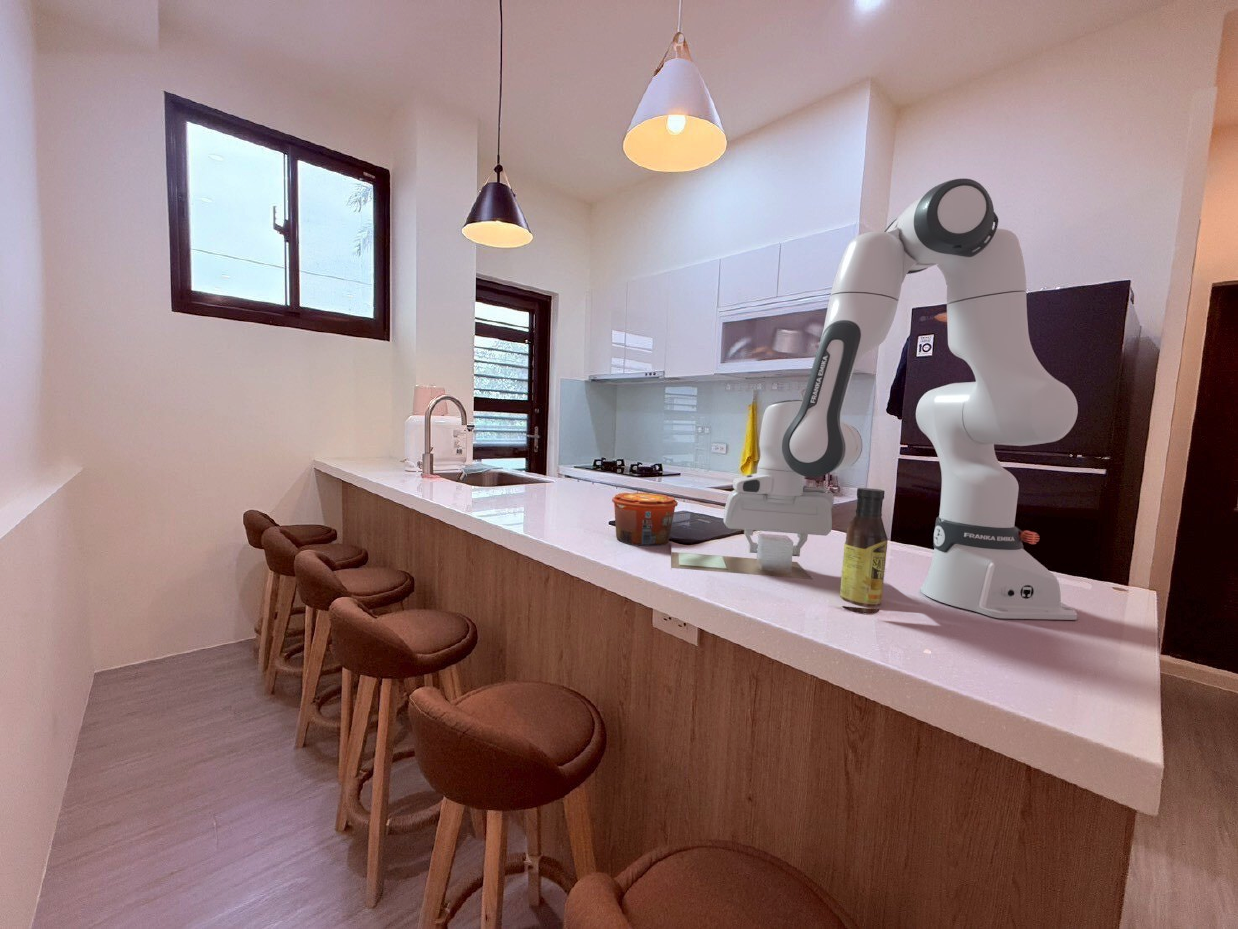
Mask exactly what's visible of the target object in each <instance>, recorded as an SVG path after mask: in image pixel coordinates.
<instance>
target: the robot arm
mask: <svg viewBox="0 0 1238 929" xmlns="http://www.w3.org/2000/svg"><path fill="white" fill-rule="evenodd" d="M993 226H994V227H993ZM998 226H999V217H998V215H997V213H996V212H995V208H994V204H993V200H992V198H991V196H990V194H989V192H988V191H987V189H986V188H985V187H984V186H983V185H982V184H981V183H979V181H976V180H973V179H971V178H955V179H951V180H947V181H944V182H942V183H940V184H938V185H935V186H934V187H932V188H931V189H929V190H928V191H927V192H926V193H925V194H923V195H921V196H920V197H919V198H917V199H916V200H914V201H913V202H911V203H910V205H908V206H907V207H906V208H905V209H904V210H903V212H902V213H900V215H899V216H898V217H897V218H896V219H894V220H893V221H892V222H891V223H890V224H889V225H888V226H887V227H886V229H885V230H884V231H880V230H877V231H876V230H874V231H869V232H864V233H861V234H858V235H857V236H855V237H854V238H852V240H850V242H849V243H848V244H847V246H846V248H845V250H844V252H843V255H842V257H841V260H840V262H839V265H838V267H837V270H836V274H835V276H834V279H833V284H832V287H831V291H830V295H829V300H828V305H827V309H826V314H825V319H824V325H823V329H822V334H821V336H820V342H819V345H818V348H817V351H816V355H815V357H814V360H813V363H812V364H813V365H812V366H811V367H812V368H811V371H810V374H809V376H808V377H809V378H808V382H807V385H806V388H805V392H804V394H803V395H804V396H803V400H802V399H788V400H787V399H785V400H781V401H780V400H779V401H776V402H773V403H771V404H770V405H768V406H767V407H766V408H765V410H764V413H763V416H762V421H761V424H760V425H761V426H760V432H759V433H760V434H759V440H758V441H759V442H758V443H759V445H758V446H759V450H760V452H759V453H760V455H759V456H760V457H759V461H758V463H757V465H756V466H757V469H756V473H752V474H748V475H743V476H739V477H738V476H737V477H736V478H734V479H732V480H733V481H732V488H733V490H731V491H730V493H728V496H727V497H726V502H725V507H724V511H723V512H724V513H723V524H724V525H725V526H726V528H727V529H730V530H731V529H733V530H743V533H744V536H745V538H746V540H747V542H748V553H750V554H757V551H758V550H757V548H758V542H753V539H752V537H753V535H754V531H758V532H773V533H783V534H784V533H786V534H797V536H796V537H797V538H798V540H797V542H796V543H795V544H794V545H793V553H792V557H800V556H801V549H802V547H803V546H804V545H805V544H806V542H807V541H808V535H812V536H825V537H826V536H828V535H829V534H830V533H831V532H832V529H833V528H832V526H833V525H832V524H833V522H832V508H833V507H834V502H835V501H834V500H835V496H834V493H833V492H832V491H831V490H830V489H827V487H825V486H818V487H817V486H811V485H804V483H805V478H820V477H824V476H825V475H828V474H830V473H836V472H841V471H843V470H846V469H848V468H850V467H852V466H853V465H854V464H855V463H856V462H857V461H858V460H859V459H860V457H861V454H862V452H863V439H862V436H861V435H860V433H859V431H858V430H857V428H855V427H854V426H852V425H851V424H850V423H848V422H845V421H843V420H842V419H841V418H842V413H843V408H844V405H845V402H846V398H847V395H848V392H849V389H850V388H849V387H850V384H851V380H852V376H853V374H854V371H855V368H856V367H857V365H858V363H859V362H860V361H861V360H862V358H864V356H866V355H867V354H868V353H869V352H871V351H872V350H874V349H876V348H877V347H879V346H880V345H881V344H882V343H884V341H885V340H886V338H887V336H888V334H889V331H891V327H892V324H894V323H893V322H894V319H895V315H896V313H897V310H898V304H899V300H900V296H901V291H902V285H903V283H904V280H906V279H905V278H906V276H907V275H911V274H916V273H920V272H922V271H925V270H927V269H929V268H931V267H934V266H937V268H938V269H939V270H940V272H941V273H942V275H943V277H944V280H945V284H946V320H947V321H946V322H947V323H946V325H947V346H948V348H949V351H950V352H951V353H952V354H953V355H954V356H955V357H957V358H960V359H961V360H963V361H965V362H966V363H967V365H968V366H969V367H970V369H971V370H972V373H973V376H974V379H975V381H970V382H969V381H968V382H966V381H965V382H953V383H949V384H946V385H942V386H940V387H936V388H933V389H930V390H927V392H925V393H924V394H923V395H922V396H921V397H920V399H919V400H918V403H917V406H916V410H915V420H916V423H917V427H918V428H919V430H920V431H921V432H922V433H923V434H924V435H925V436H926V437H927V438H928V439H929V440H930V442H931V443H932V446H933V447H934V450H935V452H936V454H937V458H938V462H939V466H940V467H939V468H940V472H941V487H940V488H941V490H940V505H939V512H938V513H939V515H938V516H937V517H936V519H935V526H934V532H933V548H934V549H933V554H932V559H931V562H930V565H929V569H928V572H927V574H926V577H925V580H924V582H923V585H922V586H921V589H920V592H921V593H922V594H924V595H925V596H927V597H929V598H931V599H933V600H935V601H936V602H940V603H943V604H946V605H950V606H952V607H956V608H960V609H963V610H968V611H973V612H976V613H979V614H982V615H985V616H988V617H992V618H996V619H1009V620H1011V619H1013V620H1014V619H1015V620H1018V619H1019V620H1020V619H1021V620H1024V619H1025V620H1060V621H1061V620H1067V621H1069V620H1070V621H1071V620H1072V621H1073V620H1075V621H1076V620H1078V613H1077V612H1076V609H1073V608H1072V607H1071V606H1068V605H1067V604H1065V603H1063V602H1061V600H1062V598H1061V597H1062V595H1061V586H1060V582H1059V580H1058V579H1057V576H1056V575H1055V574H1054V573H1053V572H1051V571H1050V570H1048V568H1047V567H1045V565H1043V564H1041V562H1039V561H1038V560H1037V559H1036V558H1034V556H1032V555H1031V554H1030V553H1029V552H1027V551H1026V550H1025V549H1024V545H1023V542H1025V543H1027V544H1030V545H1036V544H1037V543H1038V542H1039V541H1040V535H1039V534H1038V533H1037V532H1035V531H1030V530H1022V529H1020V528H1019V527H1018V526H1015V522H1016V514H1017V505H1018V498H1019V488H1020V487H1019V483H1018V480H1017V478H1016V477H1015V476H1014V475H1013V474H1012V473H1011V472H1010V471H1008V470H1007V469H1005V468H1004V467H1003V466H1002V464H1001V463H1000V462H999V460H998V458H997V455H996V451H995V445H1000V446H1001V445H1003V446H1016V447H1017V446H1018V447H1025V446H1026V447H1027V446H1033V445H1040V444H1047V443H1048V444H1049V443H1054V442H1057V441H1059V440H1061V439H1063V438H1064V437H1065V436H1066V435H1067V434H1069V432H1070V431H1071V430H1072V428H1073V427H1074V425H1075V423H1076V420H1077V417H1078V414H1079V412H1078V409H1079V406H1078V401H1077V398H1076V396H1075V395H1074V393H1073V391H1072V390H1071V389H1070V387H1069V386H1068V385H1066V384H1065V383H1063V382H1061V381H1060V380H1058V379H1057V378H1055V377H1054V376H1052V374H1050V373H1049V372H1048V371H1047V370H1046V369H1045V367H1044V366H1043V365H1042V364H1041V362H1040V361H1039V359H1038V357H1037V356H1036V354H1035V352H1034V349H1033V346H1032V343H1031V340H1030V334H1029V325H1028V323H1029V322H1028V308H1027V280H1026V279H1027V278H1026V277H1027V276H1026V268H1025V262H1024V257H1023V252H1022V248H1021V245H1020V239H1019V238H1018V236H1017V235H1016V234H1015V233H1013V231H1011V230H1008V229H1004V228H998Z"/></svg>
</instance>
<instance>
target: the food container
mask: <svg viewBox="0 0 1238 929" xmlns="http://www.w3.org/2000/svg"><path fill="white" fill-rule="evenodd" d="M611 501H612V502H613V506H614V522H615V523H614V524H615V537H616V539H617V540H618V541H620V542H621V543H624V544H629V545H632V546H638V547H639V546H641V547H654V546H655V547H657V546H662V545H663V546H664V545H666V544H667V543H669V540H670V534H671V531H672V524H673V519H674V515H675V510H676V507H677V506H678V505H679V504H678V501H676V499H675V498H674V496H672V497H671V496H670V497H669V496H668V495H667V494H666V495H665V494H658V493H655V494H653V493H650V492H649V493H648V492H634V493H633V492H632V493H629V492H621V493H618V494H615V495H614V497H612V499H611ZM612 502H611V503H612Z"/></svg>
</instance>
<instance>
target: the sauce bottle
mask: <svg viewBox="0 0 1238 929" xmlns="http://www.w3.org/2000/svg"><path fill="white" fill-rule="evenodd" d="M856 498H857V501H856V509H855V516H854V518H853V519H852V520H851V521H850V522H849V523H848V525H847V529H846V531H845V532H846V533H845V534H846V536H845V542H844V548H843V556H842V567H841V579H840V589H839V590H840V591H839V595H840V598H841V599H842V600H843V601H845V602H847V603H849V604H852V605H856V606H861V607H856V606H846V605H842V606H841V607H842V608H843V609H845V610H847V611H851V612H854V613H859V614H868V615H869V614H870V615H871V614H872V615H873V614H877V613H878V612H880V608H874V607H878V606H880V605H881V604H882V601H883V599H882V598H883V590H884V581H885V570H886V561H887V560H886V559H887V552H888V551H887V550H888V536H887V532H886V530H885V525H884V521H883V518H882V517H883V512H882V511H883V500H884V499H885V490H883V489H878V488H867V487H857V489H856ZM866 607H867V608H866ZM872 607H873V608H872Z"/></svg>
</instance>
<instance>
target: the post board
mask: <svg viewBox="0 0 1238 929" xmlns="http://www.w3.org/2000/svg"><path fill="white" fill-rule="evenodd" d="M670 553H671V554H670V569H682V570H683V569H684V570H693V571H694V570H696V571H706V572H707V571H708V572H718V573H733V574H743V575H744V574H746V575H753V576H754V575H755V576H756V575H757V576H758V575H759V576H767V577H768V576H769V577H779V578H791V579H792V578H793V579H805V580H813V577H811V575H810V574H809V573H808V572H807V571H806V570H805V569H804V568H803V566H802V565H801V564H799V563H798V561H792V565H791V573H789V572H777V571H764V570H761V569H760V568H759V566H758V564H757V563H756V560H757V558H753V557H752V558H751V557H741V556H739V557H738V556H727V555H726V556H725V555H715V554H714V555H713V554H703V553H690V552H689V553H687V552H675V551H671V552H670Z"/></svg>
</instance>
